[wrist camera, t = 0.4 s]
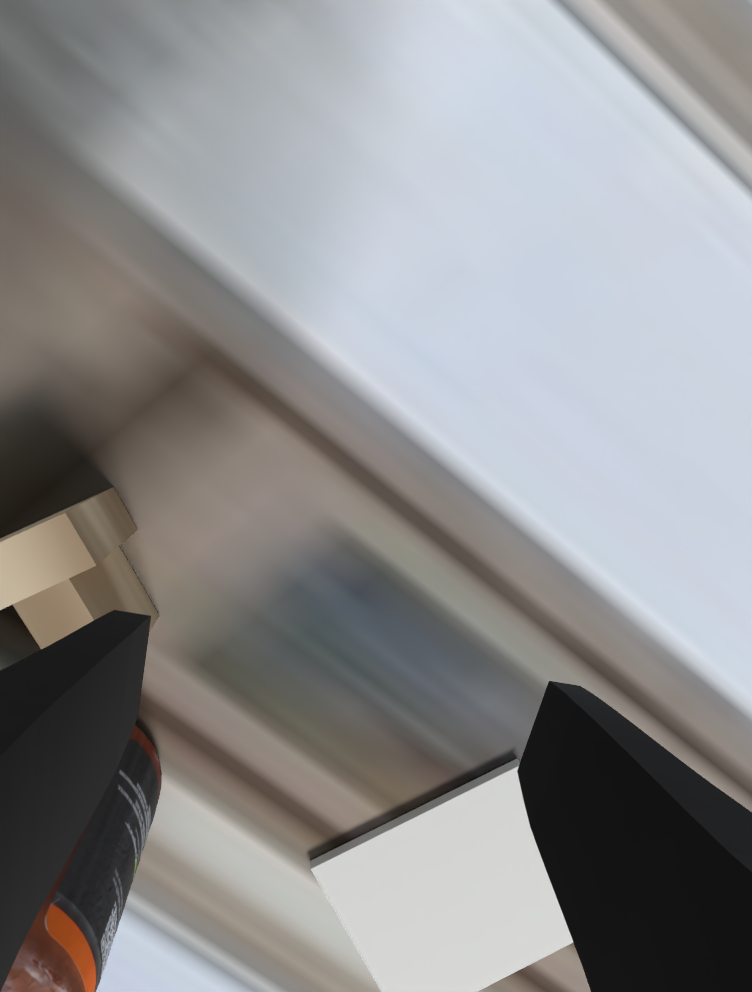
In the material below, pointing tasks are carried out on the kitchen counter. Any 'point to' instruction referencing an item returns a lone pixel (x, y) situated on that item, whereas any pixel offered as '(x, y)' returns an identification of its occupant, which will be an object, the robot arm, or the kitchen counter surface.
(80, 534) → the corner holder
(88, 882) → the supplement bottle
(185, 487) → the kitchen counter surface
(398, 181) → the kitchen counter surface
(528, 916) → the mat
